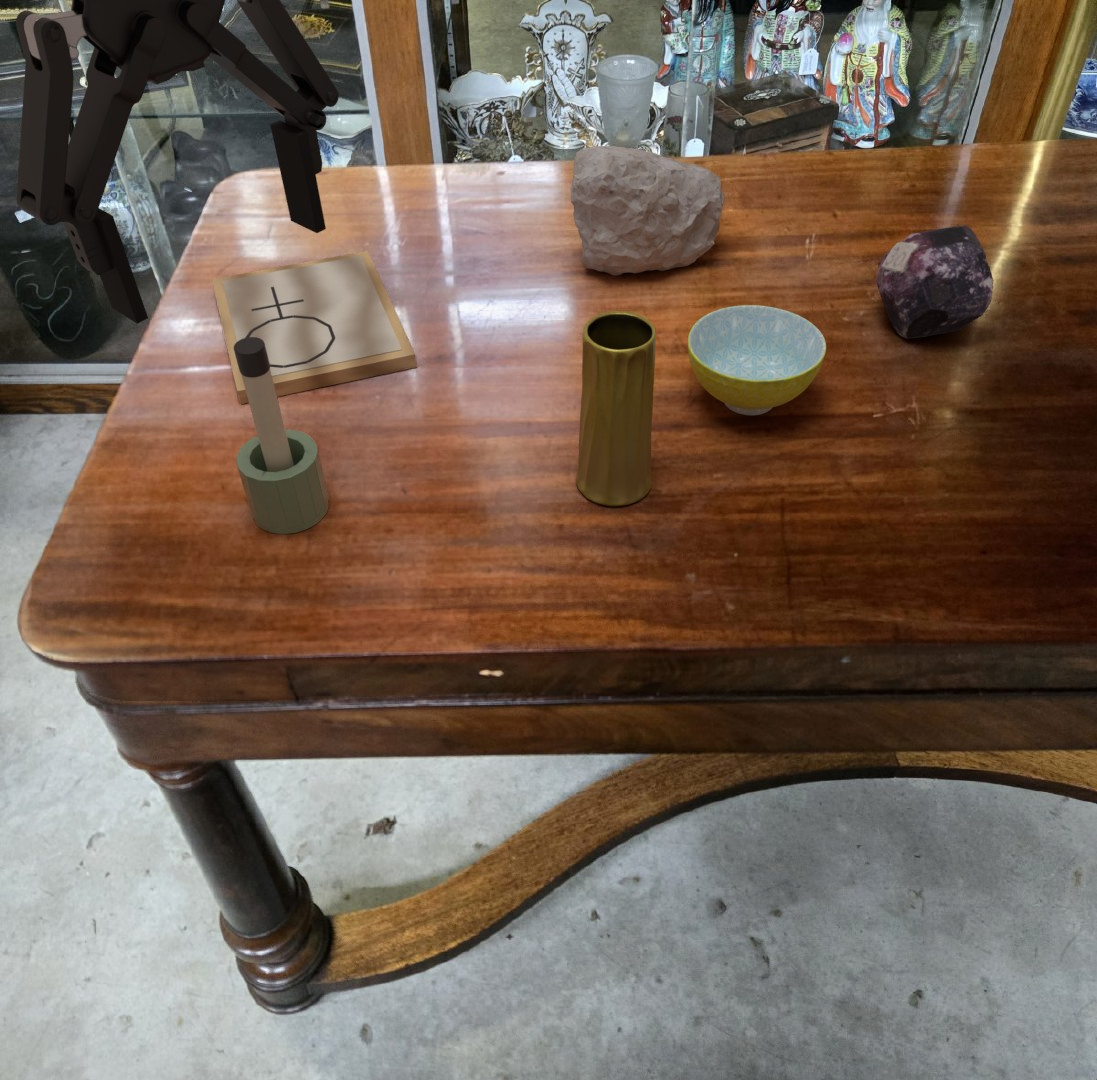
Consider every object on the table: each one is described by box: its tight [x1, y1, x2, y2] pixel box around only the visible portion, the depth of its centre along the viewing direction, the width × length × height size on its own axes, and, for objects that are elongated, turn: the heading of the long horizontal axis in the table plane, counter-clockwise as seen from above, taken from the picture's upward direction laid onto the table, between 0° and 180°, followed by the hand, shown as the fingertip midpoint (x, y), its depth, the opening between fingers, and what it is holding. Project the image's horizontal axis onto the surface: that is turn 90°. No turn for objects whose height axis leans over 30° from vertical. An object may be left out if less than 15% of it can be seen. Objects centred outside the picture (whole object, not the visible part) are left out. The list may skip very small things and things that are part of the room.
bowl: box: [687, 304, 827, 416], centre depth 89 cm, size 11×12×6 cm
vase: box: [575, 310, 657, 507], centre depth 78 cm, size 6×6×14 cm
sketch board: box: [211, 250, 418, 405], centre depth 99 cm, size 16×20×2 cm
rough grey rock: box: [570, 145, 725, 276], centre depth 103 cm, size 16×9×15 cm, turn 108°
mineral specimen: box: [875, 224, 995, 339], centre depth 96 cm, size 10×10×10 cm
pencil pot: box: [235, 429, 330, 535], centre depth 80 cm, size 6×6×6 cm
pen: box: [234, 337, 294, 472], centre depth 76 cm, size 2×2×15 cm
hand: (224, 267), depth 65 cm, fingers open, 13 cm apart
